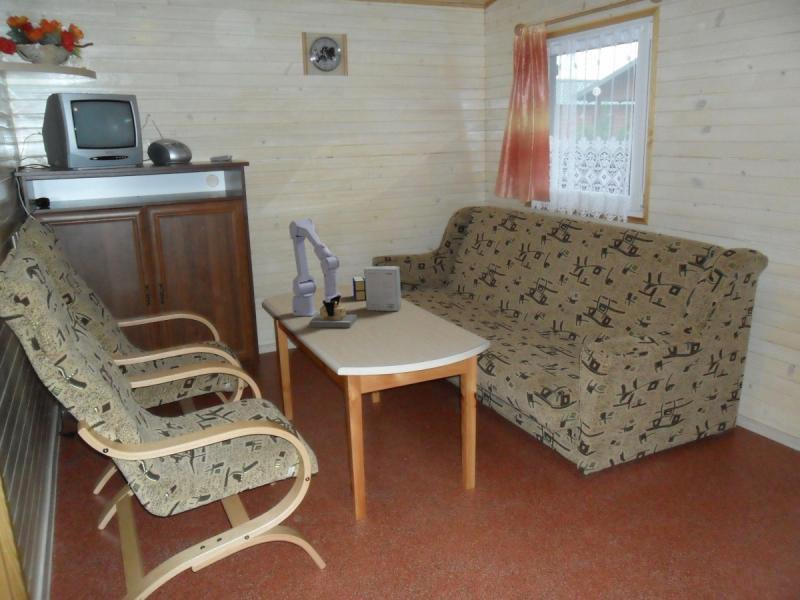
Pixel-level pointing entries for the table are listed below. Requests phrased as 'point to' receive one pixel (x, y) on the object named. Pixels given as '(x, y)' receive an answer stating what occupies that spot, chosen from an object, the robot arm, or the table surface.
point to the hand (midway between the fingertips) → (332, 314)
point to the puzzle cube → (359, 288)
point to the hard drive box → (382, 288)
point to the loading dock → (333, 322)
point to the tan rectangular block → (338, 313)
